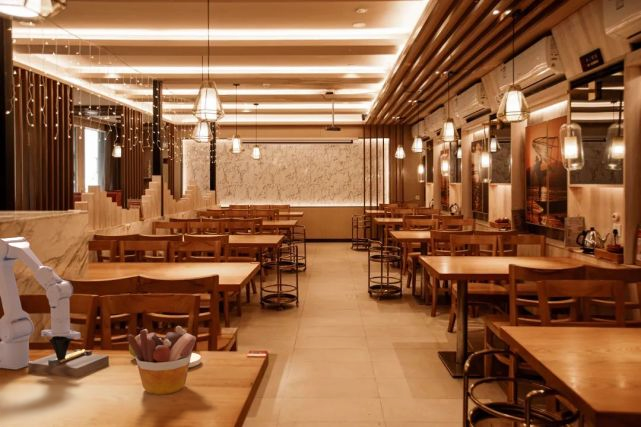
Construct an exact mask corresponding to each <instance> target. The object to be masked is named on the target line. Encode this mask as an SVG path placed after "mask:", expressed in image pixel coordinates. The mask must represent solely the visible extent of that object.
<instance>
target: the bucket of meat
mask: <svg viewBox="0 0 641 427" xmlns="http://www.w3.org/2000/svg"><path fill="white" fill-rule="evenodd" d="M175 331H176V332H171V331H169V332H166V334H165V336H164V338H163V339H162V338H161V337H159V336H158V335H157V334H156V332H150V333H149V330H148V329H147V328H145V329H142V330H140V332H139V334H138V335H136V336H137V337H136V336H135V335H133V334H128V335H127V340H126V341H128V343H129V344H130V345H131V347H132V349H133V351H134V352H135V354H136V356H135V361H136V363H137V364H136V365H137V368H138V372H139V377H140V381H141V385H142V388H144V390H145V391H146V392H147V393H148V394H150V395H154V396H155V395H157V396H164V395H165V396H166V395H172V394H175V393H177V392H180V391H181V390H182V388H183V387H184V386H185V385H186V382H187V377H188V373H189V372H188V371H189V368H190V367H189V364H190V359H191V355H192V353H193V349H194V346H195V344H196V340H197V337H196V336H195V335H192V334H190V333H187V330H186V329H185V328H184V329H183V327H182V326H180V325H177V326H175ZM135 337H136V338H137V340H136V339H135Z"/></svg>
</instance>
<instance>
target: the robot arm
mask: <svg viewBox="0 0 641 427" xmlns="http://www.w3.org/2000/svg"><path fill="white" fill-rule="evenodd" d="M19 260H20V261H21V262H22V263H23V264H24V265H25V266H26V267H27V268H29V270H31V272H33V273H34V277H33V278H34V279H35V280H36V281H37V282H38V284H39V285H40V286H42V288H43V289H44V290H45V295H46V298H47V300H48V305H49V306H50V329H43V330H40V331H41V337H43V338H44V337H51V338H50V339H49V340H48V341H49V343H50V345H51V347H52V348H53V350H54V354H55V353H56V356H57V359H59V360H61V359H64V358H65V356H66V352H67V351H68V350H69V349H68V348H69V346H70V344H71V342H72V340H80V339H81V337H82V336H81V332H79V331H75V330H71V314H70V310H71V309H70V298H71V297H72V296H73V295H74V287H73V285H72V283H71V281H68V280H64V279H62V278H61V277H60V276H59V275H58V274H57V273H56V271H55V270H54V268H53V267H52V266H51V267H50V266H49V265H48V266H47V265H44V264H43V263H42V262H41V261H40V259H39V258H38V257H37V256H36V254H35V253H34V252H33V250H32V249H31V244H30V243H29V241H28V240H27V239H26V238H25V237H24V236H18V237H10V238H0V299H1V304H2V309H3V314H4V315H2V317H1V318H0V340H1V341H0V369H7V370H20V369H22V368H25V367H28V363H29V362H32V361H33V360H31V361H30V345H29V344H30V340H29V339H30V338H31V335H32V334H33V333H34V331H35V330H34V329H35V325H34V323H33V321H32V320H31V317H30V314H29V313H28V312H26V311H25V310H23V308H22V302H21V300H20V299H21V298H20V295H19V289H18V286H17V285H18V284H17V280H16V276H15V273H14V272H15V271H14V267H13V266H14V265H15V263H16V262H17V261H19Z"/></svg>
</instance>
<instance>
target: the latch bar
mask: <svg viewBox="0 0 641 427" xmlns="http://www.w3.org/2000/svg"><path fill="white" fill-rule="evenodd" d="M86 351H87V350H85V349H80V350H79V351H77V352H74V351H73V352H74V353H71V354H68V355H66V356H65V358H64V359H61V360H59V359H54V360H59V362H63V361H66V360H68V359H71V358H74V357H77V356H79V355H82V354H85V353H86Z"/></svg>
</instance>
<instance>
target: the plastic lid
mask: <svg viewBox="0 0 641 427" xmlns="http://www.w3.org/2000/svg"><path fill="white" fill-rule="evenodd" d="M201 363H202V357H201V355H200V354H198V353H195V352H192V355H191V359H190V364H189V368H192V367H196V366H197V365H199V364H201Z"/></svg>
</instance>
